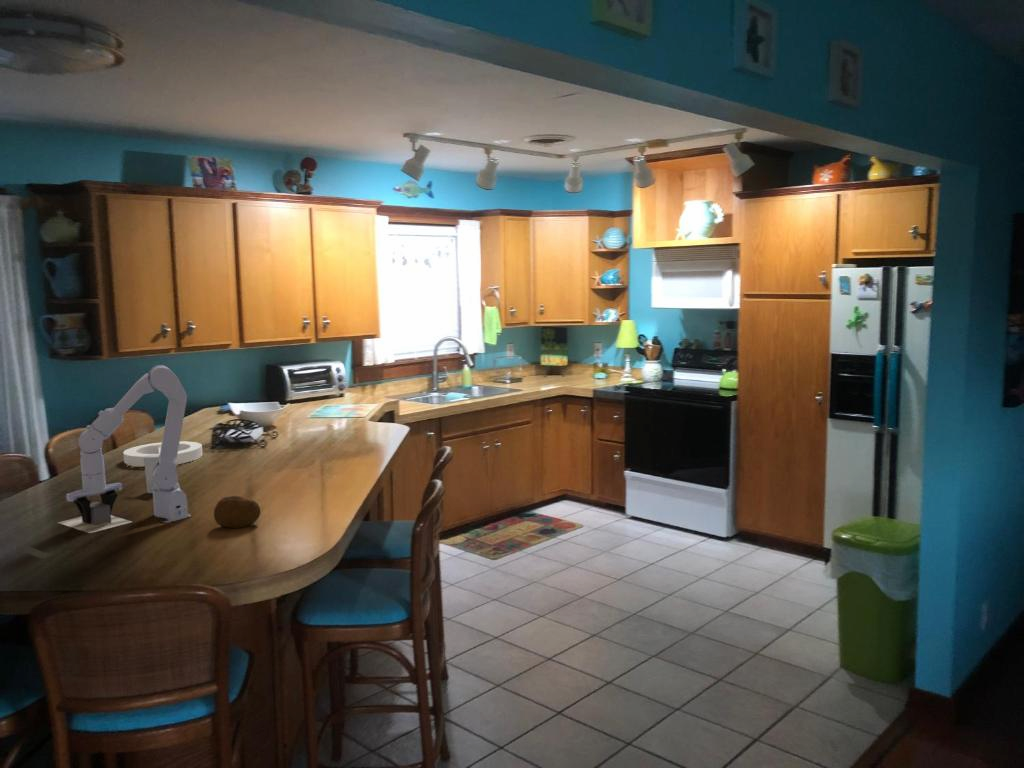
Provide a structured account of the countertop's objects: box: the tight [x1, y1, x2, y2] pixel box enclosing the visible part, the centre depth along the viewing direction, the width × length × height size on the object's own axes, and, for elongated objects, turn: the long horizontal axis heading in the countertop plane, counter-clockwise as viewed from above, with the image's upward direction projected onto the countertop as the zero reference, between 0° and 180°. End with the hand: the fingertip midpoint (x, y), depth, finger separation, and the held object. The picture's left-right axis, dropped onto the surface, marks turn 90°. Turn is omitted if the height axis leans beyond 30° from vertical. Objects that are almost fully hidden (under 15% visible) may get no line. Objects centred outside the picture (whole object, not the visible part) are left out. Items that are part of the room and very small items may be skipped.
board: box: [57, 515, 133, 534], centre depth 221 cm, size 18×12×1 cm, turn 55°
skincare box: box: [144, 455, 159, 494], centre depth 257 cm, size 6×4×12 cm
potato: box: [213, 495, 261, 529], centre depth 218 cm, size 8×12×9 cm
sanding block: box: [82, 501, 112, 527], centre depth 220 cm, size 7×4×5 cm, turn 55°
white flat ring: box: [122, 440, 203, 467], centre depth 306 cm, size 28×28×5 cm
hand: (97, 520), depth 220 cm, fingers open, 5 cm apart
